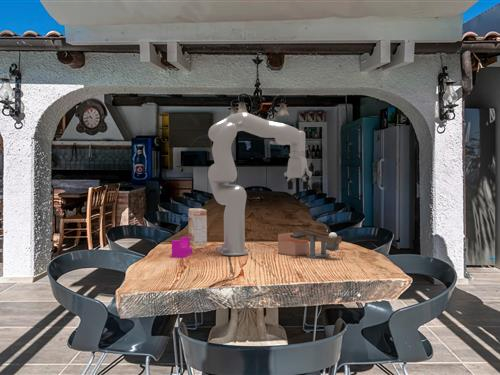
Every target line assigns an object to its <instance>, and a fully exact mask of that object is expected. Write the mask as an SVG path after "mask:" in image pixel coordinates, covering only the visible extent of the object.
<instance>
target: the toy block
mask: <svg viewBox="0 0 500 375" xmlns="http://www.w3.org/2000/svg"><path fill="white" fill-rule="evenodd" d="M192 254H193V246H191V243H190V237H189V236H186V237H185V236H182V237H180V239H177V240H176V239H174V240H171V258H180V259H181V258H183V259H186V258H188V257H189V256H191V255H192Z"/></svg>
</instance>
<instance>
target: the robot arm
mask: <svg viewBox="0 0 500 375" xmlns="http://www.w3.org/2000/svg"><path fill="white" fill-rule="evenodd" d="M241 131H242V132H245V133H249V134H251V135H254V136H257V137H259V138H265V139H268V138H269V139H270V138H271V139H272V138H273V139H274V140H275V143H277V144H278V145H280V146H286V145H289V146H290V152H289V157H290V158H288V162H287V170H286V171H285V172H284V173H283V176H284V177H285V178H284V179H286V182H287V189H288V190H293V189H294V188H293V187H294V182H293V180H294V179H300V178H301V179H302V180H303V182H302V190H304V191H305V190H309V182H310V180H311V178H312V176H313V172H312V171H310V170H309V168H308V160H307V158H306V132H305V131H304V130H299V129H298V128H296V127H294V126H291V125H289V124H287V123H286V124H285V123H283V122H277V121H272V120H267V119H265V118H262V117H260V116H257V115H255V114H252V113H249V112H246V111H242V112H236V113H232V114H230V115H228V116H226V117H225V118H223V119H221V120H220V121H218V122H216V123H214V124H213V125H211V126H210V128H209V129H208V133H207V136H208V138H209V139H210V141H211V142H213V144H212V148H211V153H212V157H213V161H214V163H213V164H211V165H210V166H209V168H208V171H207V178H208V182H209V185H210V188H211V191H212V195H213V197H214V199H215V201H216V202H217V204H220V205H222V206H225V207H224V212H223V244H222V245H221V246H217V247H215V251H216V252H220V254H221V255H224V256H244V255H248V254H249V251H248V250H246V247H245V246H246V245H245V244H246V239H245V238H246V236H245V235H246V234H245V233H246V232H245V230H246V229H245V228H246V224H245V223H246V222H245V220H246V219H245V212H246V210H245V209H246V202H247V197H248V195H247V192H246V190H245V188H244V187H243V186H241V185H239V184H230V183H233V182H235V181H236V180H237V177H238V171H237V167H236V163H235V161H234V157H233V155H232V154H233V153H232V145H233V141H234V140H235V138H236V137H237V134H238V132H241Z"/></svg>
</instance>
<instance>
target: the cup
mask: <svg viewBox="0 0 500 375" xmlns="http://www.w3.org/2000/svg"><path fill="white" fill-rule="evenodd" d="M292 234H295V232H287V233H286V232H285V233H278V234H277V247H278V248H277V254H278V255H283V256H290V257H300V256H304V255H305V256H306V255H309V253H310V242H309V240H308V239H307V240H306V239H299V238H292V237H290V235H292Z"/></svg>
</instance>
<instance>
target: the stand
mask: <svg viewBox="0 0 500 375" xmlns="http://www.w3.org/2000/svg"><path fill="white" fill-rule="evenodd" d="M309 243H310V254H305V256H306V259H311V260H318V259H324V258H327V257H328V258H329V257H330V256H331V255H330V254H331V253H327V250H326V243H325V242H321V241H320V252H316V240H315V236H310V238H309Z"/></svg>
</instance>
